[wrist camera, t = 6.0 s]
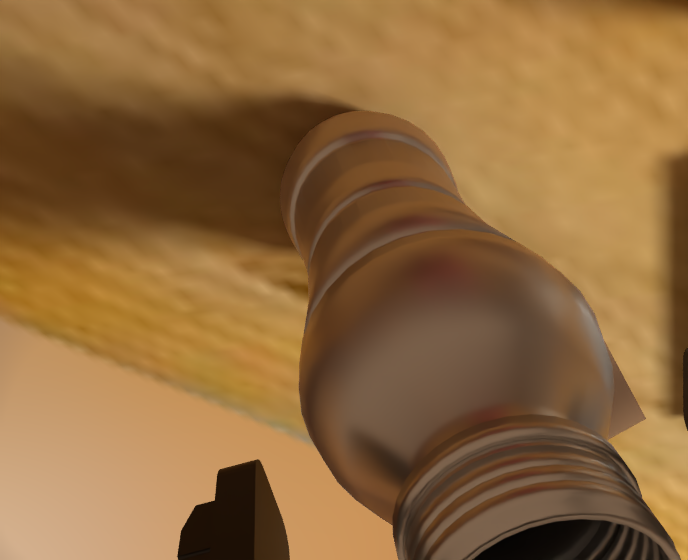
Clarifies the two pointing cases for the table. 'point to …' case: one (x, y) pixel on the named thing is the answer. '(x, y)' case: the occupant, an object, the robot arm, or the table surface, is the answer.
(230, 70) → the table surface
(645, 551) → the plastic bottle
